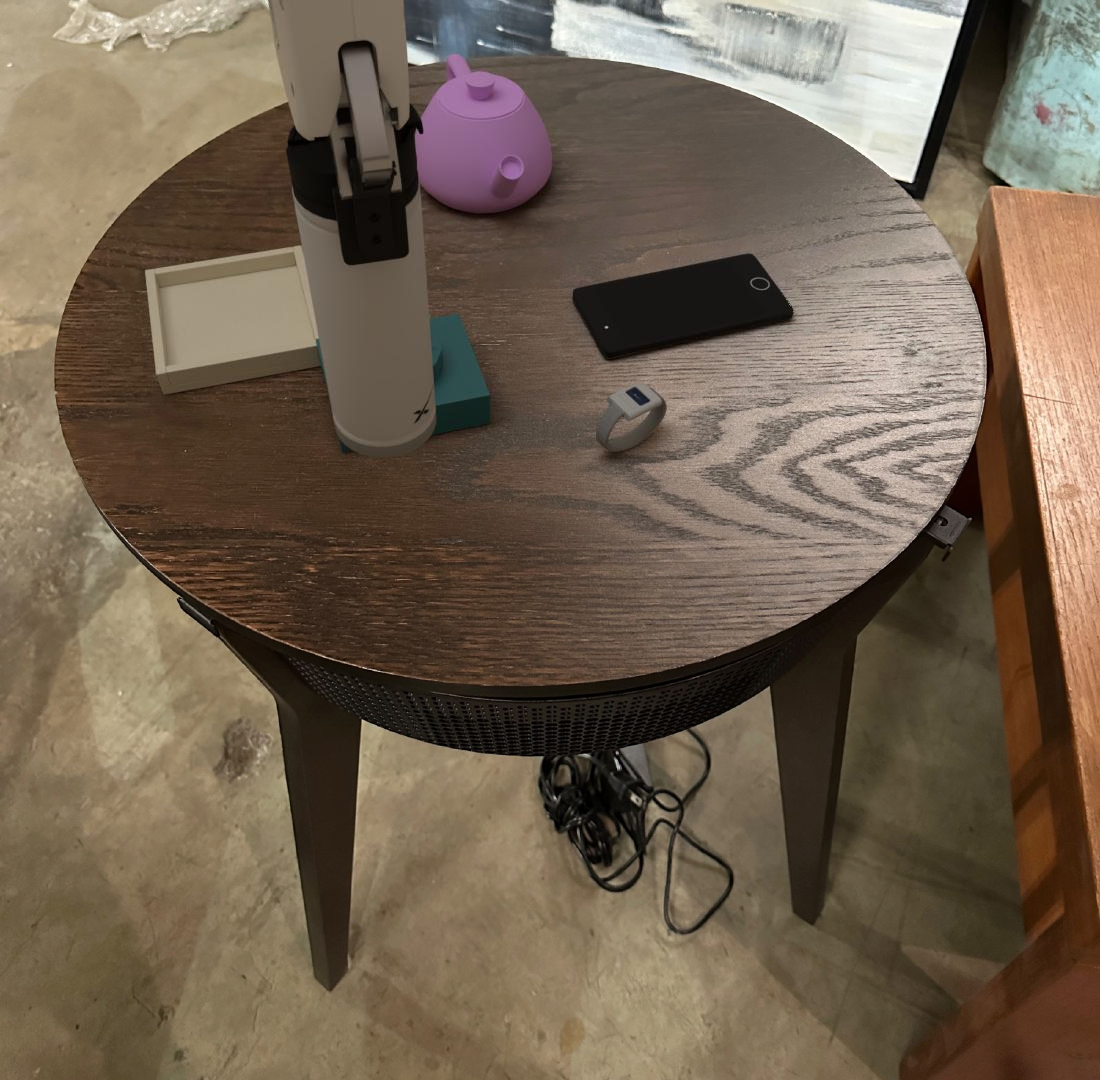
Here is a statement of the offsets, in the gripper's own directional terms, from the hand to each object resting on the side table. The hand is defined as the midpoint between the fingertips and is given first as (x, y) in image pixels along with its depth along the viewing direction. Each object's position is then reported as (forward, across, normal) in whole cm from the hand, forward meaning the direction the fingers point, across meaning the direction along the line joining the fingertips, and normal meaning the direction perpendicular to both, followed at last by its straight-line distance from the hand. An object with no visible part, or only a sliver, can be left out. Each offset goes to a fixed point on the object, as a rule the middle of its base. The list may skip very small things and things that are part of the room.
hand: (363, 213), depth 52 cm
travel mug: (+15, 0, 0) cm, 15 cm away
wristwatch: (+28, -6, +19) cm, 35 cm away
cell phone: (+28, -20, +29) cm, 45 cm away
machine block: (+28, -16, +3) cm, 33 cm away
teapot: (+28, -43, +17) cm, 54 cm away
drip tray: (+29, -28, -9) cm, 41 cm away
